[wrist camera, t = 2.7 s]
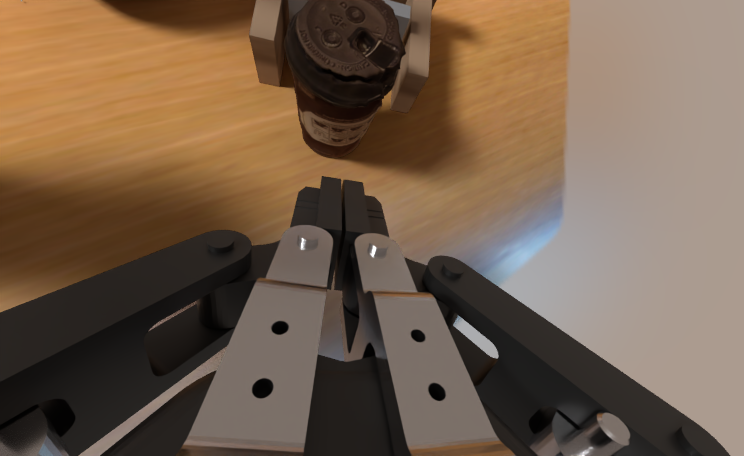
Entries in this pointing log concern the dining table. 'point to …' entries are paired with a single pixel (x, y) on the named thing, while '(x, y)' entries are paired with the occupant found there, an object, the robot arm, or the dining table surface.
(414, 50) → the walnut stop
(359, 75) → the coffee cup
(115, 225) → the dining table surface
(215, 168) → the dining table surface
